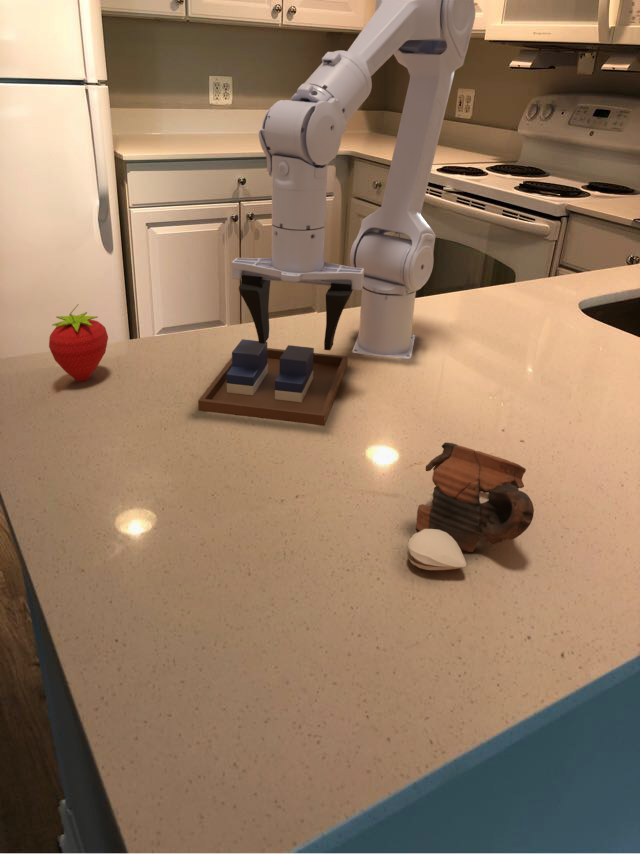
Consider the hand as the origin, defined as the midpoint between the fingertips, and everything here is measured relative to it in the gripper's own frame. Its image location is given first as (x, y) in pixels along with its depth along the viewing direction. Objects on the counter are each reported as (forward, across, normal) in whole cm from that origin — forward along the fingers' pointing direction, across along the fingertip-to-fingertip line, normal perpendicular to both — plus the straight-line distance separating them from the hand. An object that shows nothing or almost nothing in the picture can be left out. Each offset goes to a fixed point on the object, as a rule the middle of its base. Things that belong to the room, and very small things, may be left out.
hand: (296, 343), depth 82 cm
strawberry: (+6, -25, -4) cm, 26 cm away
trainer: (+6, 0, 0) cm, 6 cm away
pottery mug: (+6, +21, -23) cm, 32 cm away
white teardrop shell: (+6, +18, -29) cm, 35 cm away
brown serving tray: (+6, -2, 0) cm, 7 cm away
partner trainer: (+6, -6, 0) cm, 8 cm away
